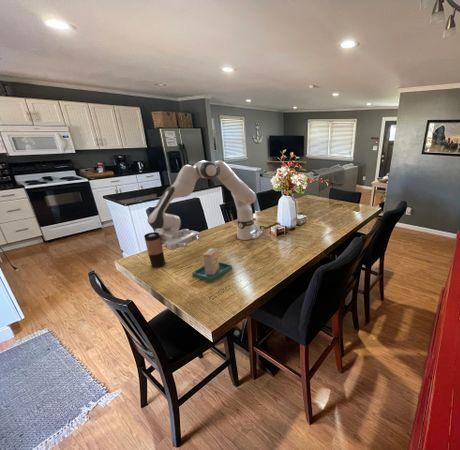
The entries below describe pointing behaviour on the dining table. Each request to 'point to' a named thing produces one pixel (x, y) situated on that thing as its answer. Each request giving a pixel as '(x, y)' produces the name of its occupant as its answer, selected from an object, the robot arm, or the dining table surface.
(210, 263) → the supplement box
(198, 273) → the tray
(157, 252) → the travel mug
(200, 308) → the dining table surface
